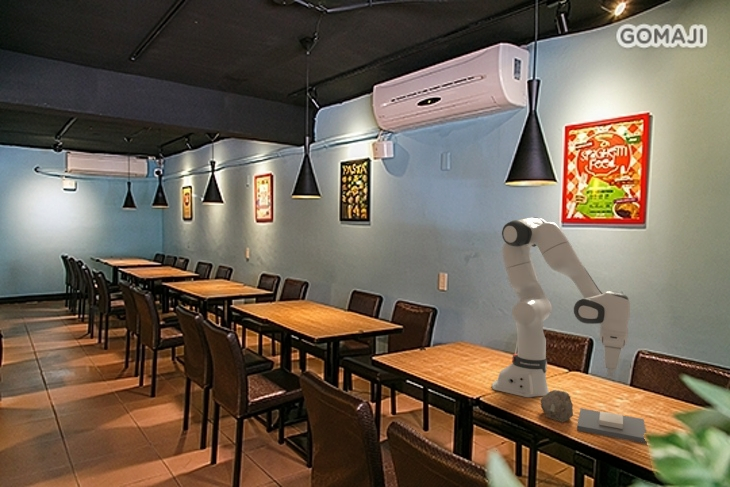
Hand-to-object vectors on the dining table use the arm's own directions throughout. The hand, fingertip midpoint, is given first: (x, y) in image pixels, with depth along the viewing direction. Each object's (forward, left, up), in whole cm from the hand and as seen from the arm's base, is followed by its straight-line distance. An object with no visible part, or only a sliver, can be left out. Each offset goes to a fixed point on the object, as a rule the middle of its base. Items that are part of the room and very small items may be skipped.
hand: (609, 375), depth 172 cm
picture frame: (+1, -6, -12) cm, 14 cm away
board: (+1, -11, -15) cm, 18 cm away
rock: (-16, -12, -15) cm, 25 cm away
